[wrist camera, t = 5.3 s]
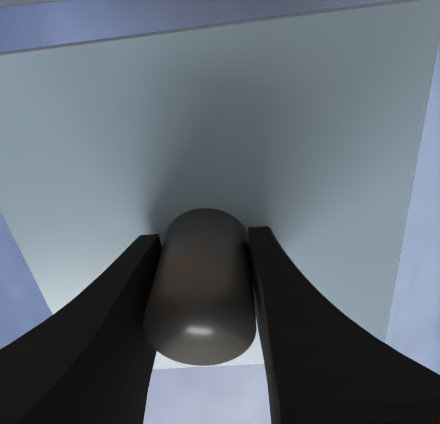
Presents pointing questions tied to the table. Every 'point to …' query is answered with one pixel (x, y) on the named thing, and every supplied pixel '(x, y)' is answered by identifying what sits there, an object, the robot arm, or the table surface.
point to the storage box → (21, 2)
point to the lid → (221, 163)
